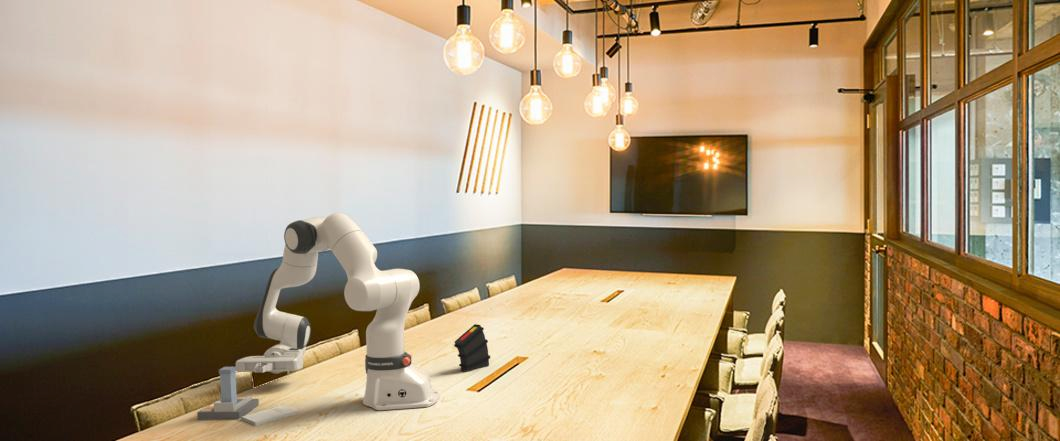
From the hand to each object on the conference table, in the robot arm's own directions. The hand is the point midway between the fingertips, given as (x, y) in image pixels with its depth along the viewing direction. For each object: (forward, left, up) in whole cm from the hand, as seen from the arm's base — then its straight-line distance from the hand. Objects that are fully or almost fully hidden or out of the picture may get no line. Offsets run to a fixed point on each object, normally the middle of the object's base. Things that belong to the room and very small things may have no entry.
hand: (258, 370), depth 209 cm
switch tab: (0, +19, -6) cm, 19 cm away
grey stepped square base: (+2, +16, -8) cm, 18 cm away
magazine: (-63, -28, -8) cm, 70 cm away
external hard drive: (-12, +20, -9) cm, 25 cm away
